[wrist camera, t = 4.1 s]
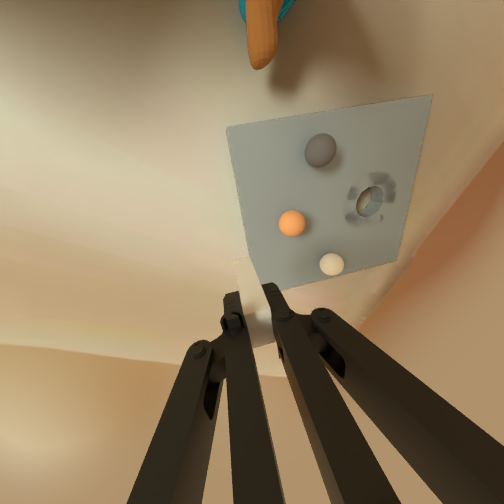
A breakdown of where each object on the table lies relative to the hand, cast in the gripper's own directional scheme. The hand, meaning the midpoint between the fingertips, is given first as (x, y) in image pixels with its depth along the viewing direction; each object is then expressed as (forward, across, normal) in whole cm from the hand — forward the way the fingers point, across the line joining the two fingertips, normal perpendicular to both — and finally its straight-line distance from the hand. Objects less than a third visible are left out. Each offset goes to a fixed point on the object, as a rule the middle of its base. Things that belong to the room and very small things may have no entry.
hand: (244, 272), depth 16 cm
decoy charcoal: (+9, +12, +8) cm, 17 cm away
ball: (+9, +8, 0) cm, 12 cm away
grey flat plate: (+13, +15, 0) cm, 20 cm away
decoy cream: (+9, +14, -8) cm, 18 cm away
